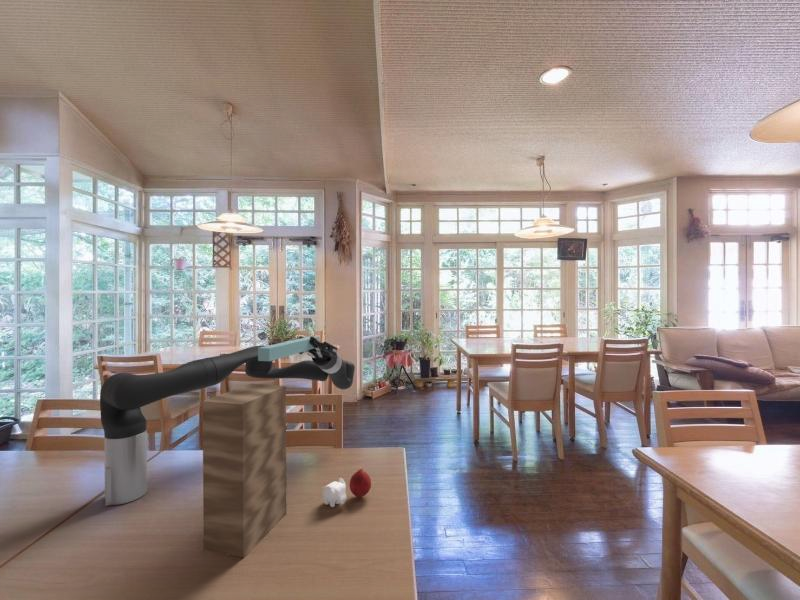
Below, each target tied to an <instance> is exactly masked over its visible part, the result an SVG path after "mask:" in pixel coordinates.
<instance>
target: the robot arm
mask: <svg viewBox="0 0 800 600" xmlns="http://www.w3.org/2000/svg"><path fill="white" fill-rule="evenodd" d="M309 337H310V341H309V343H310V344H311V345H312V346H313V347H314V349H310V350H307V351H303V352H300V353H298V354H299V355H303V354H305V353H306V354H307V356H309V357H311V360H302V361H299V362H296V363H293V364H291V365H289V366H285V367H280V368H279V367H278V368H277V367H273V363H274V360H272V361H258V348H260V347H265V346H266V345H255V346H249V347H246V348H243V349H240V350H237V351H234V352H230V353H226V354H222V355H220V354H219V355H215V356H210V357H204V358H201V359H194V360H191V361H189V362H186V363H183V364H182V365H179V366H177V367H176V368H174V369H171V370H170V369H169V370H168V371H163V372H157V373H152V374H151V373H150V374H141V375H140V374H135V373H130V372H117V373H114V374H113V375H110V376H109V377H108V378H107V379H106V380H105V381H104V382H103V384H102V385H101V388H100V393H99V408H100V423H101V426H102V428H103V432H104V433H103V434H104V435H103V436H104V463H103V464H104V469H103V470H104V474H103V475H104V505H105V507H107V506H113V505H114V506H115V505H123V504H127V503H131V502H132V501H136V500H138V499H140V498H142V497H143V496H145V495H146V494H147V492H148V429H147V426H148V425H147V423H148V422H147V418H146V417H145V416H144V414H143V412H142V410H141V409H142V408H143V407H145V406H148V405H150V404H153V403H155V402H158V401H161V400H164V399H166V398H169V397H172V396H176V395H181V394H185V393H191V392H194V391H197V390H199V391H200V390H203V389H206V388H209V387H214V386H217V385H218V384H220V383H221V382H223V381H225V380H226V378H228V377H229V376H230V375H231V374H232V373H233V372H234V371H236V370H237V369H238V368H239V367H240V366H242V365H244V364H245V369H244V373H245V375H247V376H248V377H251V378H255V379H279V380H280V379H301V380H310V381H317V382H326V381H327V380H328V378H330V379H331V382H332V385H334V386H335V387H336V388H338V389H340V390H347V389H350V388H351V387H352V385H353V381H354V376H355V371H356V370H355V364H354V363H353V362H352V361H350V360H343V358H342V357H341V356H340V355H339V353H338V351H339V350H338V347H337V346H334V345H332V344H330V343H329V342H327V341H323V342H322V341H321V340H319V341H318V340H317V339H315V338H314V337H315V336H309ZM301 338H304V337H303V336H301V335H300V336H299V337H297V339H301ZM141 407H142V408H141Z"/></svg>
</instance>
